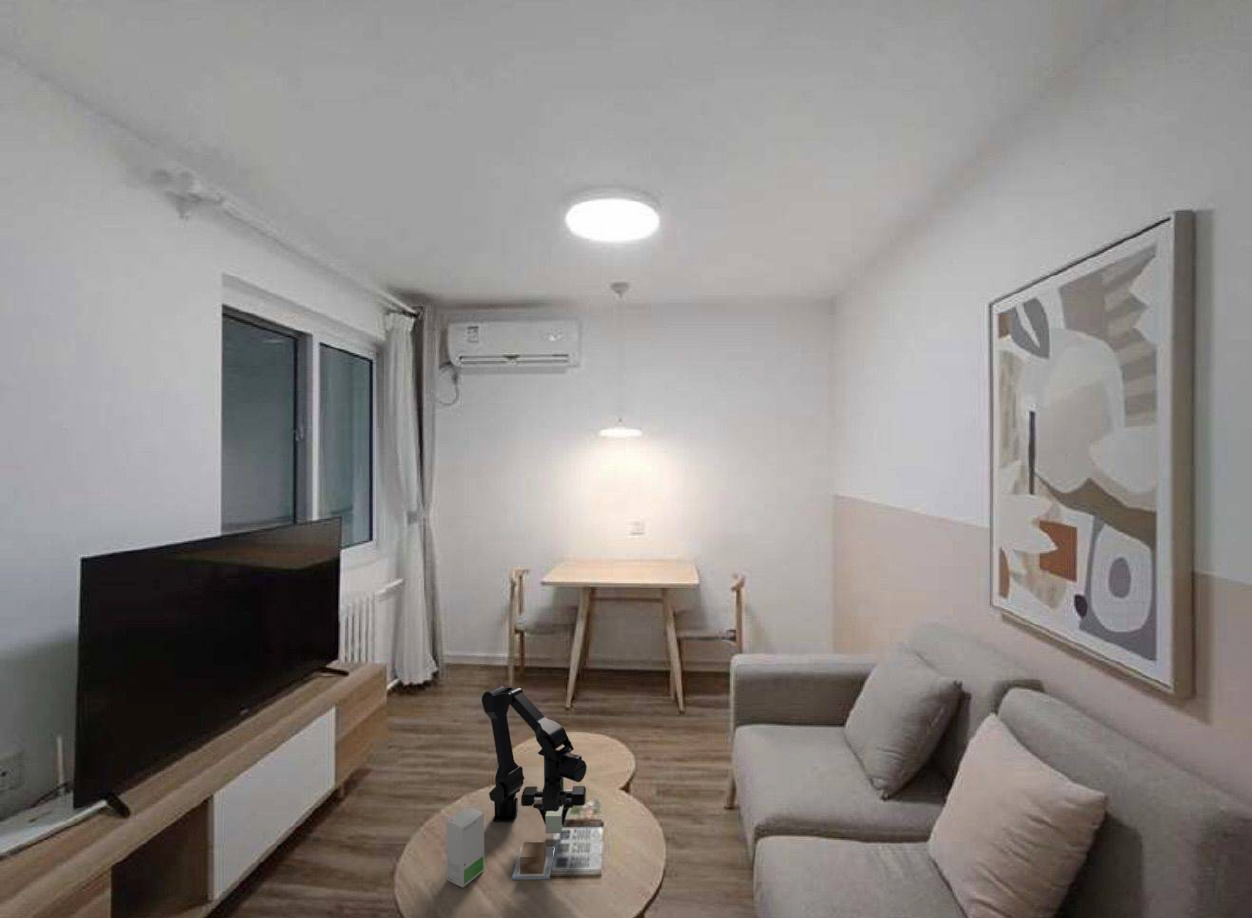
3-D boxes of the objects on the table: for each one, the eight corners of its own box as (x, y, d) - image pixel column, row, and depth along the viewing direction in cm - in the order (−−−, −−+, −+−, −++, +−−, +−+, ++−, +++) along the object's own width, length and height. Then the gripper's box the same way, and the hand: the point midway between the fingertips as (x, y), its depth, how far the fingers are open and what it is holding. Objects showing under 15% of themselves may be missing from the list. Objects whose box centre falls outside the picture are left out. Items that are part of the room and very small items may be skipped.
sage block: (545, 833, 165) (545, 816, 165) (548, 823, 170) (547, 806, 170) (561, 833, 165) (561, 815, 165) (563, 823, 170) (563, 806, 170)
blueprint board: (512, 879, 151) (511, 876, 151) (520, 849, 163) (520, 846, 163) (549, 879, 151) (549, 876, 151) (555, 848, 163) (555, 846, 163)
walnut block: (520, 873, 152) (519, 856, 152) (524, 858, 158) (524, 842, 158) (542, 873, 152) (542, 856, 152) (546, 858, 158) (545, 842, 158)
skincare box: (462, 889, 148) (461, 828, 148) (444, 879, 151) (444, 821, 151) (485, 869, 155) (485, 812, 155) (469, 861, 158) (468, 804, 158)
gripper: (516, 787, 160) (517, 842, 160) (582, 786, 160) (583, 842, 159) (524, 766, 171) (525, 818, 171) (585, 765, 171) (586, 817, 171)
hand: (554, 824), depth 168 cm, fingers closed on sage block, 5 cm apart
